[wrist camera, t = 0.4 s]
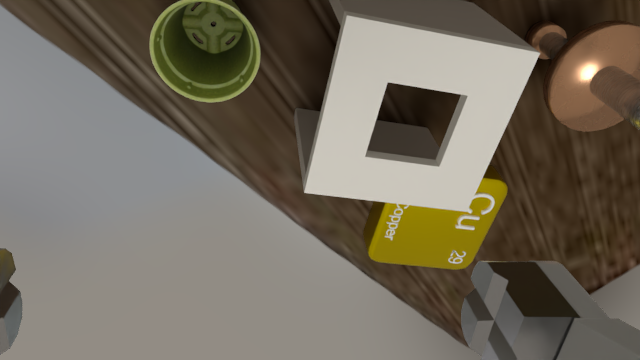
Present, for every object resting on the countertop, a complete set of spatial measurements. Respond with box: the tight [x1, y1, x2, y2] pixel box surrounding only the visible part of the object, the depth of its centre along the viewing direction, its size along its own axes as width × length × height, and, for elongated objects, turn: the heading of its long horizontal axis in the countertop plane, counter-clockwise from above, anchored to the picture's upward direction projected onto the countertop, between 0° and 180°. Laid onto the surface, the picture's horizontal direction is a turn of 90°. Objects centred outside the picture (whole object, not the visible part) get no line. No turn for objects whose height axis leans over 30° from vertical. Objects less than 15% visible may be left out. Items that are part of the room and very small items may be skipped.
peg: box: [525, 20, 640, 131], centre depth 45 cm, size 10×10×26 cm
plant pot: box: [150, 0, 260, 102], centre depth 47 cm, size 9×9×9 cm
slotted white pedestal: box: [294, 0, 540, 212], centre depth 49 cm, size 16×16×15 cm
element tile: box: [363, 165, 507, 270], centre depth 65 cm, size 15×15×5 cm
